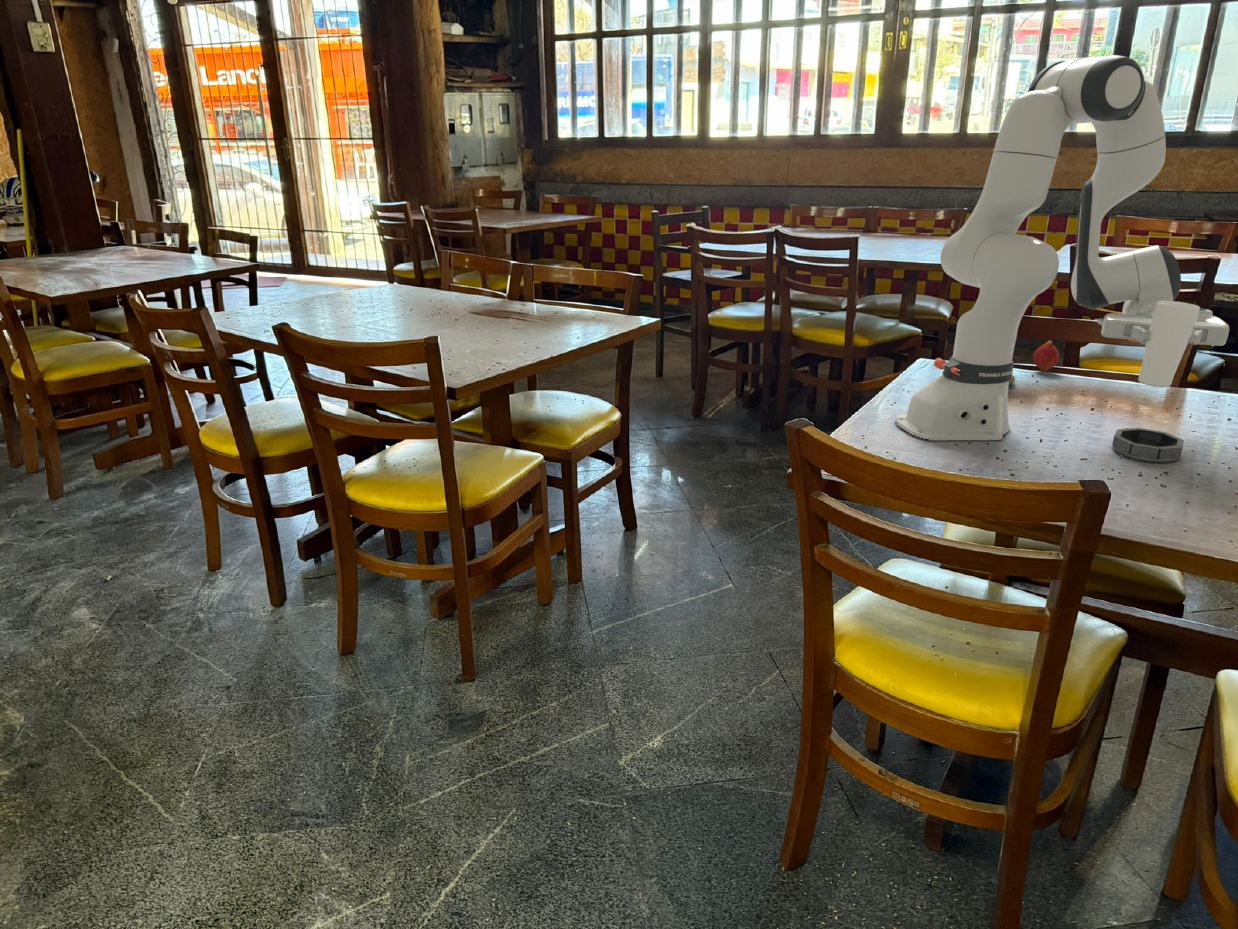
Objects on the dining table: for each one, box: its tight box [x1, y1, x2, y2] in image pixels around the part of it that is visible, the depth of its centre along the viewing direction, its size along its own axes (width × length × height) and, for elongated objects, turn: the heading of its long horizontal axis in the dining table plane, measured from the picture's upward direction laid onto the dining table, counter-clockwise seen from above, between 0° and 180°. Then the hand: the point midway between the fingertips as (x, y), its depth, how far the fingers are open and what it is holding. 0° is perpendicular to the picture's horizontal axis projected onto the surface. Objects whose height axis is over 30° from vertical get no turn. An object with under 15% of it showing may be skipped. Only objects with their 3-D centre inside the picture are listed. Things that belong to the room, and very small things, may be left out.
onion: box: [1032, 340, 1060, 372], centre depth 210 cm, size 6×6×8 cm
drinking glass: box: [1138, 300, 1201, 389], centre depth 153 cm, size 7×7×15 cm
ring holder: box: [1111, 427, 1185, 465], centre depth 158 cm, size 11×11×3 cm
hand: (1169, 338), depth 152 cm, fingers closed on drinking glass, 6 cm apart
